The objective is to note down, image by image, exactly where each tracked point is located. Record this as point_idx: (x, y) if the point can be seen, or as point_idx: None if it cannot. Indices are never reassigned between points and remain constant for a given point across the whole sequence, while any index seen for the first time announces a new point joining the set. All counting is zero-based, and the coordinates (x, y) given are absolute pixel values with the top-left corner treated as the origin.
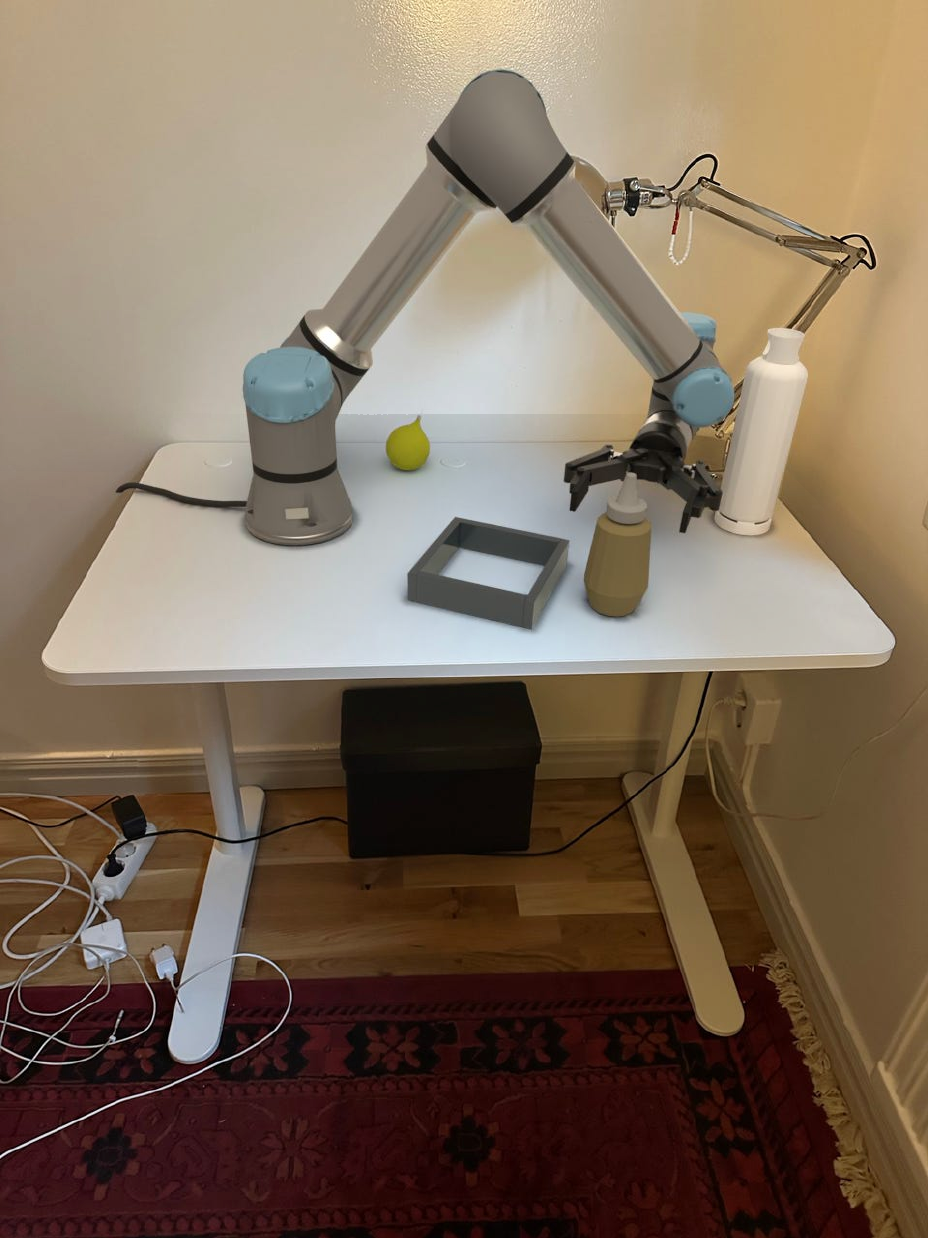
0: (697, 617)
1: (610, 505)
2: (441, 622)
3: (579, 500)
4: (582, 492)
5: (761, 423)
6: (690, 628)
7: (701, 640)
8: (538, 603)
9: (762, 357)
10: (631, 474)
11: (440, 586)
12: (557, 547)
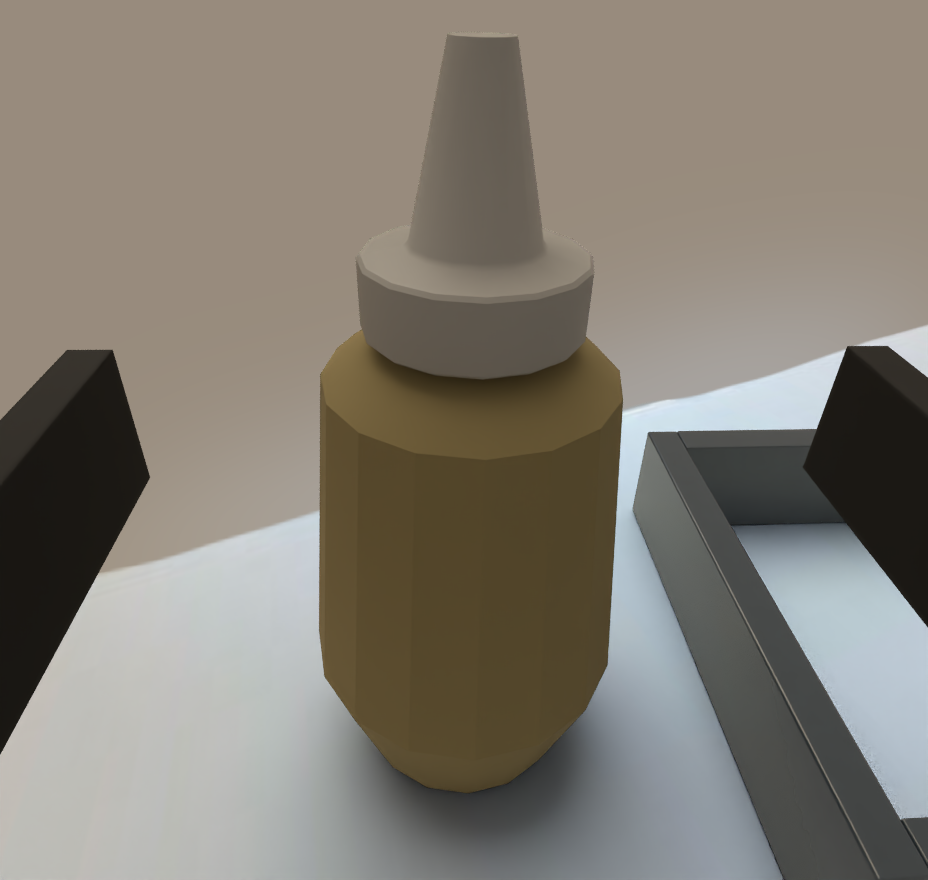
0: (95, 768)
1: (550, 232)
2: None
3: (862, 492)
4: (915, 511)
5: None
6: (143, 683)
7: (114, 634)
8: (656, 497)
9: None
10: (483, 36)
11: None
12: (856, 756)
